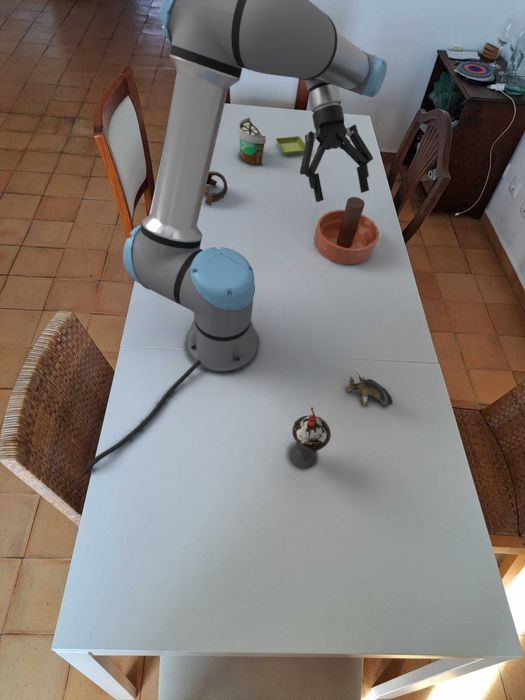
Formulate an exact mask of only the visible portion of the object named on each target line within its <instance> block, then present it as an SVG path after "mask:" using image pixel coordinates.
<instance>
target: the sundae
mask: <svg viewBox="0 0 525 700" xmlns="http://www.w3.org/2000/svg"><path fill="white" fill-rule="evenodd" d="M310 411H311V412H312V414H310V415H303V416H301V417H299V418H297V419H296V420H295V421H294V424H293V426H292V431H291V433H292V437H293V439H294V440H295V445H294V446H293V447H292V448H291V449H290V452H289V457H290V461H291V462H292V463H293V464H294V465H295V466H296V467H298V468H302V469H306V468H307V469H308V468H310V467H311V466H313V465H314V463H315V461H316V459H317V455H316V452H317V451H320V450H322V449H323V448H325V447H326V446H327V445H328V444H329V442H330V440H331V437H332V432H331V429H330V427H329V424H328V423H327V422H326V421H325V420H324V419H323V418H321V417H320V416H317V415H315V412H314V407H313V406H311V408H310Z"/></svg>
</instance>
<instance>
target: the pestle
mask: <svg viewBox="0 0 525 700" xmlns="http://www.w3.org/2000/svg"><path fill="white" fill-rule="evenodd" d="M365 205H366V203H365V201H364V199H362V198H361V197H357V196H351V197H348V199H347V200H346V204H345V208H344V210H345V211H344V215H343V218H342V222H341V226H340V229H339V233H338V237H337V241H336V243H337V245H338V246H340V247H344V248H350V247H351V246H352V244H353V241H354V237H355V234H356V231H357V228H358V224H359V221H360V218H361V215H363V211H364V208H365Z"/></svg>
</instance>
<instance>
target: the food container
mask: <svg viewBox="0 0 525 700" xmlns="http://www.w3.org/2000/svg"><path fill="white" fill-rule="evenodd" d="M236 134H237V136H238V137H239V158H240V160H241V161H242V162H243V163H245V164H247V165H249V166H262V165H263V159H264V158H263V157H264V149H265V144H266V142H267V141H266V140H267V139H266V135H262V133H261V132H260V131H259V128H258V127H257V126H255V125H254V124H253V123H252V121H251V117H246V118H243V119H241V120H240V122H239V124H238V127H237V133H236Z"/></svg>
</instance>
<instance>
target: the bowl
mask: <svg viewBox="0 0 525 700" xmlns="http://www.w3.org/2000/svg"><path fill="white" fill-rule="evenodd" d="M344 211H345V209H334V210H330V211H327V212H325V213H323V214H322V215H321V217H319V218H318V221H317V223H316V227H315V232H314V237H313V243H314V247H315V248H316V249H317V251H318V252H319V253H320V254H321V255H322V256H324V258H326V259H328V260H330V261H332V262H335V263H339V264H343V265H356V264H361V263H364V262H366V261H367V260H370V258H371V257H372V256H373V255H374V253H375V250H376V248H377V244H378V241H379V238H380V232H379V228H378V226H377V225H376V223H375V222H374V221H373V220H372V219H371V218H369V217H368V216H366V215H364V214H362V215H361V218H360V221H359V224H358V228H357V231H356V234H355V237H354V241H353V244H352V246H351V247H350V248H344V247H340V246H338V245H337V243H336V241H337V237H338V233H339V229H340V226H341V222H342V218H343V215H344Z"/></svg>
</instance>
